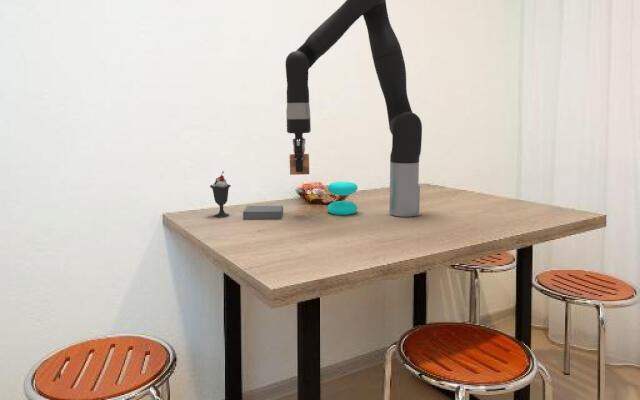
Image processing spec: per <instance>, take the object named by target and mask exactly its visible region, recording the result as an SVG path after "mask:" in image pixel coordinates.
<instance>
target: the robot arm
mask: <svg viewBox="0 0 640 400" xmlns="http://www.w3.org/2000/svg"><path fill="white" fill-rule="evenodd" d="M362 16H363V19H364V22H365V26H366V30H367V34H368V35H367V36H368V41H369V47H370V51H371V56H372V61H373V65H374V68H375V69H374V70H375V74H376V75H377V76H376V77H377V79H378V82H379V86H380V89H381V91H382V95H383V99H384V101H385V106H386V113H387V119H388V128H389V131H390V133H391V135H392V136H391V137H392V141H391V142H392V143H391V151H390V155H389V157H390V158H389V161H390V162H389V164H390V165H389V206H388V207H389V208H388V209H389V211H388V213H389V215H390V216H395V217H405V218H406V217H407V218H409V217H416V216H420V204H421V203H420V202H421V201H420V200H421V198H420V197H421V195H420V194H421V186H420V185H419V180H420V179H419V178H420V177H419V176H420V175H419V174H420V157H421V154H422V153H421V152H422V140H423V139H422V136H423V124H422V120H421V118H420V117H419V115H417V114H416V113H414V112H413V110H412V107H411V105H410V101H409V97H408V91H407V70H406V62H405V58H404V55H403V51H402V47H401V43H400V41H399V39H398V37H397V35H396V33H395V31H394V30H393V27H392V24H391V21H390V17H389V14H388V7H387V1H386V0H345V1H344V2H343V3H342V4H341V6H339V7H338V8H337V10H335V11H334V12H333V13H332V14H331V15H330V16H329V17H328V18H326V20H324V21H323V22H322V23H321V24H320V25H319V26H317V28H316V29H315V30H314V31H313V32H312V33H311V34H309V36H308V37H307V38H306V39H305V41H304V43H303V44H302V45H300V46H299V47H298V48H297V49H296V50H293V51H291V52H290V53H289V54H288V55H287V56H286V58H285V74H286V75H285V76H286V77H285V78H286V111H285V112H286V133H288V134H294V138H293V139H292V145H293V149H292V151H293V154H295V156H294V157H295V160H296V172H302V171H303V154H305V152H306V147H305V146H306V138H304V135H303V134H308V133H311V130H312V129H311V126H312V125H311V107H310V89H309V69H311V68H312V66H313V65H314V64H315V63H316V62H317V61H318V60H319V59H320V58H321V57H322V56H323V55H325V54H326V53H327V52H328V51H329V50H330V49H331V48H332V47H333V46H334V45H336V43H338V42H339V40H340V39H341V38H342V37H343V36H344V35H345V33H346V32H347V31H349V29H350V28H351V27H352V25H354V24H355V23H356V21H358V20H359V19H360V17H362ZM297 154H301V155H297Z"/></svg>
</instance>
